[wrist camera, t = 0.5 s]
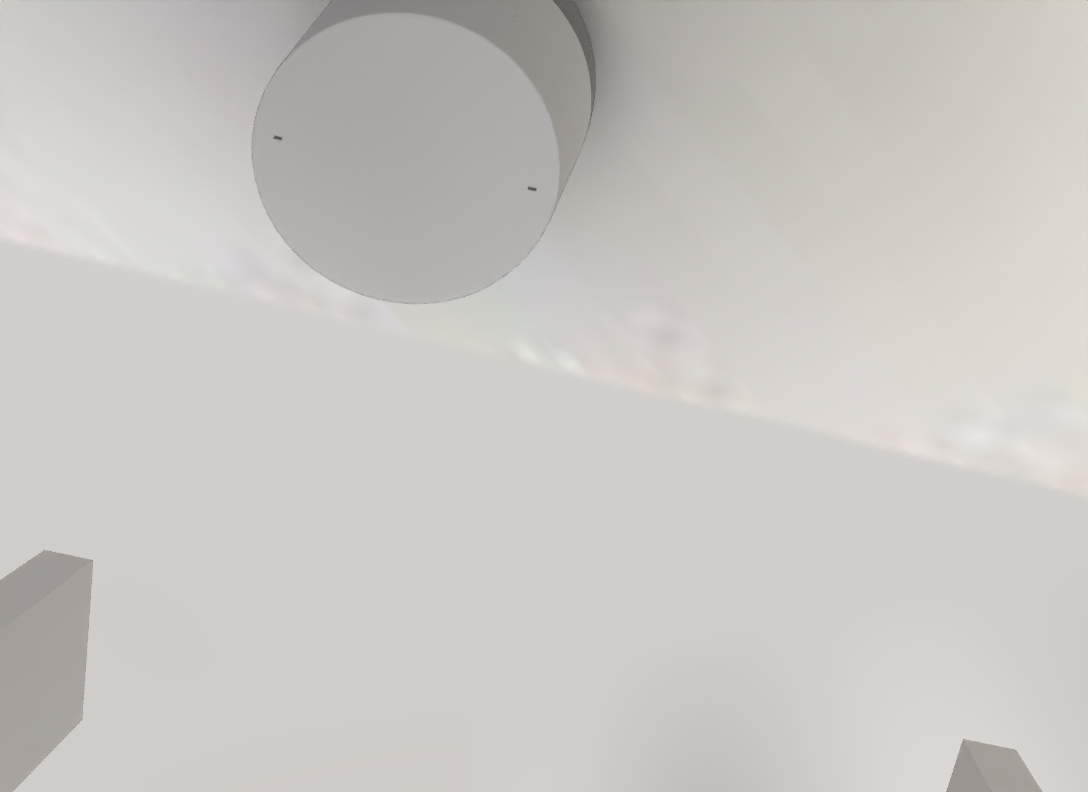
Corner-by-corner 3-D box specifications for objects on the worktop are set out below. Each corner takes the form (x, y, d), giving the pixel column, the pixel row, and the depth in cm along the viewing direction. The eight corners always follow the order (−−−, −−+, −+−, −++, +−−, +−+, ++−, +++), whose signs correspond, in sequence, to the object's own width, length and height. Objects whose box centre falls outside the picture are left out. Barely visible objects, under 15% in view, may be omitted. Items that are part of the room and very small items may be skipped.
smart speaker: (623, -47, 36) (613, 30, 24) (573, 197, 41) (545, 364, 29) (360, -101, 36) (218, -51, 24) (341, 151, 41) (214, 299, 29)
